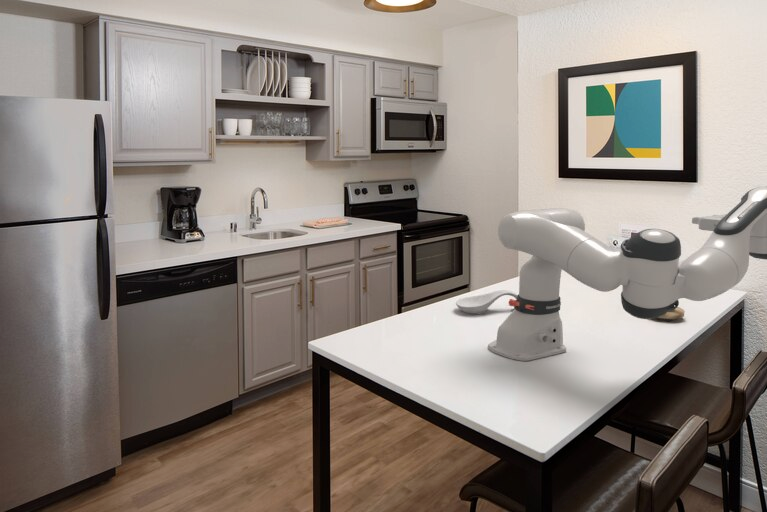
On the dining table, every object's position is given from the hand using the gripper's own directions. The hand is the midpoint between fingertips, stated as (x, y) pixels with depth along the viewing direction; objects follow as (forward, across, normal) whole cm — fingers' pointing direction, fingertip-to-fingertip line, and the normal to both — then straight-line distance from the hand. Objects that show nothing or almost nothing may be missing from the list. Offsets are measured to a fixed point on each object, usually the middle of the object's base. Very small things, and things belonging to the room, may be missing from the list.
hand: (703, 219), depth 164 cm
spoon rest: (+46, -42, -34) cm, 72 cm away
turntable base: (+12, +2, -34) cm, 36 cm away
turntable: (+12, +2, -33) cm, 35 cm away
